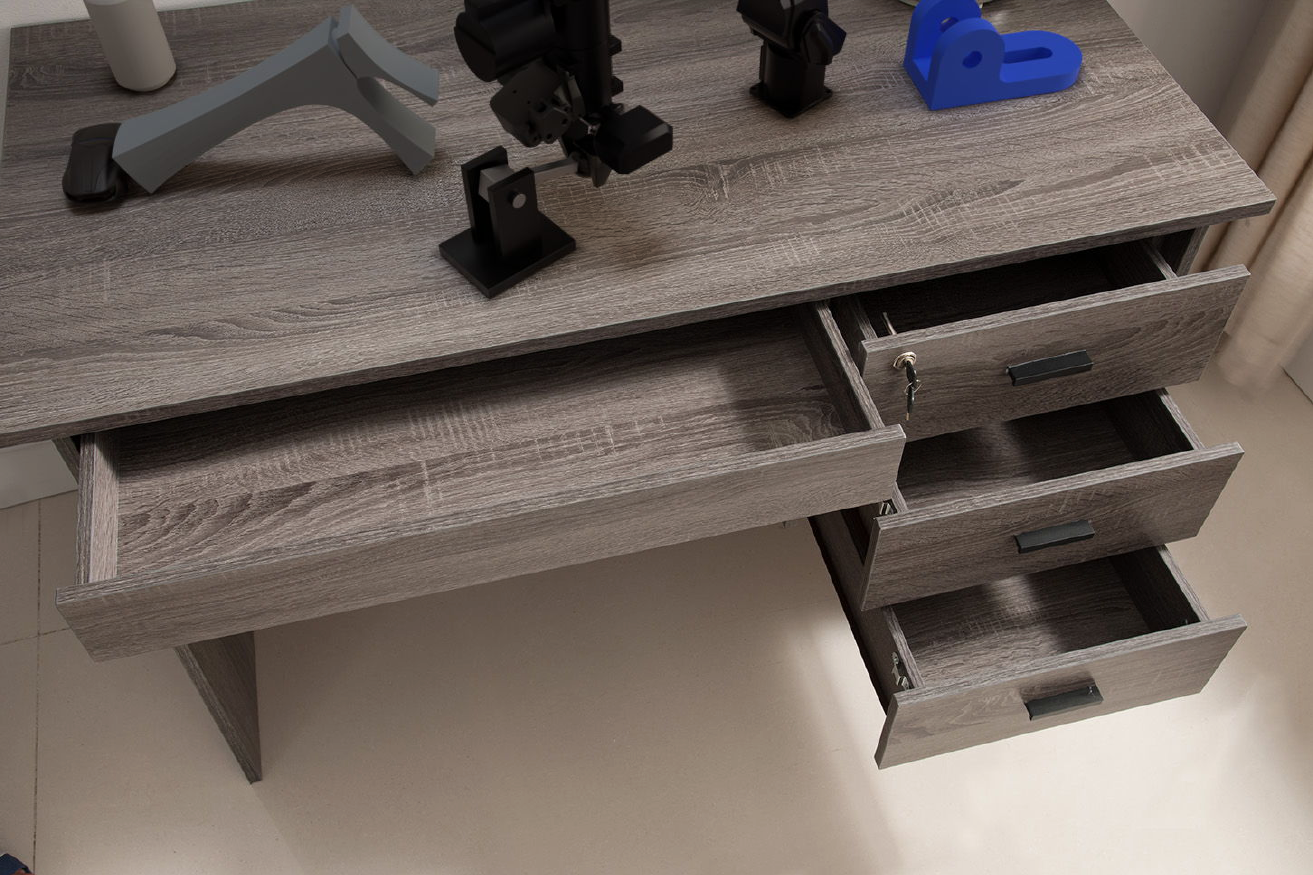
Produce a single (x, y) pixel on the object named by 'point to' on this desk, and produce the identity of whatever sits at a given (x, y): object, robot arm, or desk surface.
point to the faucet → (291, 100)
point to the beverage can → (133, 42)
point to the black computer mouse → (94, 167)
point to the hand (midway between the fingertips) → (587, 176)
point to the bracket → (982, 57)
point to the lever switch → (503, 229)
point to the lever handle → (539, 170)
